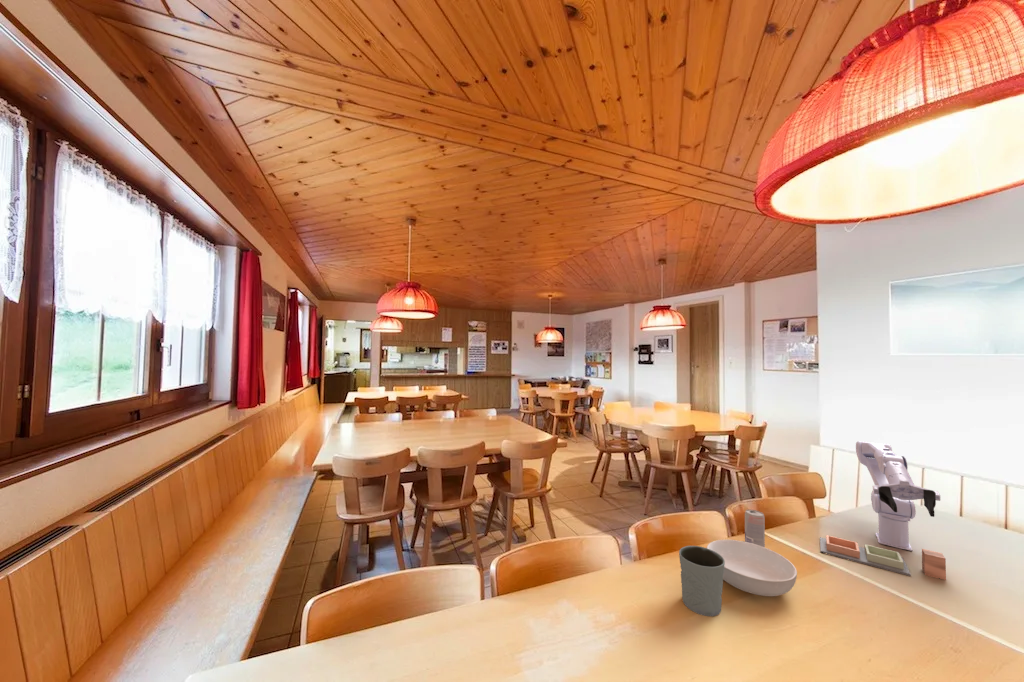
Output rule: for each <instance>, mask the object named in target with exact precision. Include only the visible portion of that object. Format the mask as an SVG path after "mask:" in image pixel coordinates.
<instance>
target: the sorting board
mask: <svg viewBox="0 0 1024 682" xmlns="http://www.w3.org/2000/svg"><path fill="white" fill-rule="evenodd" d="M825 537H826V538H824V537H819V544H820V545H819V547H820V553H821V552H823V553H822V554H824V553H827V554H826V555H828V554H830V555H829V556H832V555H834V556H833V557H836V556H838V557H837V558H840V557H841V559H843V558H845V559H844V560H847V559H849V560H848V561H851V560H852V562H856V563H859V564H863V565H867V566H871V567H874V568H878V569H880V570H881V569H882V570H886V571H890V572H892V573H897V574H900V575H901V574H902V575H904V576H908V577H911V575H912V574H911V572H910V570H909V567H908V565H907V563H906V561H905V559H904V557H903V556H901V554H900V552H899V551H895V550H891V549H886V548H884V547H883V548H882V547H878V546H875V545H870V544H864V547H863V546H859V544H858V542H857V541H853V540H849V539H845V538H840V537H838V536H837V537H836V536H832V535H828V534H826V535H825Z"/></svg>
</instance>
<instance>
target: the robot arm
mask: <svg viewBox="0 0 1024 682" xmlns="http://www.w3.org/2000/svg"><path fill="white" fill-rule="evenodd" d="M855 451H856V457H857V459H858V461H859V463H860V464H861V465H863V466H865V468H867V470H868V473H869V474H870V476H871V479H872V481H873V483H874V485H873V484H872V492H871V493H870V501H871V506H872V510H873V511H874V512H875V513H876V514H878V517H877V518H878V532H875V536H876V540H877V543H878V544H880V545H885V546H889V547H893V548H897V549H901V550H905V551H906V550H907V551H911V552H913V550H914V549H913V548H912V546H911V544H910V541H909V540H910V535H909V534H910V533H909V522H911V520H913V519H914V518H916V516H917V515H916V513H917V511H916V506H915V503H914V500H916V501H917V500H922V499H923V506H924V507H925V508H926V510H927V511H928V514H929V516H930V517H933V518H934V517H935V510H934V509H935V508H936V504H937V502H936V501H939V502H940V501H941V495H940V493H939V491H938V490H932V489H928V488H924V487H922V486H918V485H915V484H914V481H913V479H912V477H911V476H910V474H909V471H908V462H907V458H906V457H905V456H904V455H900V456H899V455H897V454H896V453H894V451H893V448H892V446H891V445H890V443H879V442H871V441H870V442H869V441H861V440H857V441H856V443H855Z"/></svg>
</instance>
